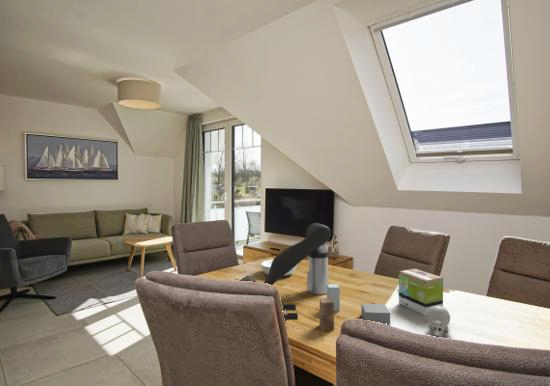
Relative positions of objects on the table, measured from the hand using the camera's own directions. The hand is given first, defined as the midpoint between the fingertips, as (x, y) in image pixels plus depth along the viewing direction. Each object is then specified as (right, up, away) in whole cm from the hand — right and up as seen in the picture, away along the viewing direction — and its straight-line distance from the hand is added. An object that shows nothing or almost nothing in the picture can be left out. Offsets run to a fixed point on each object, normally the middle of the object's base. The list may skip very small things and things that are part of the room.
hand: (296, 311), depth 120 cm
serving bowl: (-5, -4, +71) cm, 71 cm away
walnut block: (+11, -6, 0) cm, 13 cm away
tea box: (+53, -5, +18) cm, 56 cm away
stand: (+54, -5, +39) cm, 67 cm away
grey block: (+31, -6, +6) cm, 32 cm away
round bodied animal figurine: (+50, -6, -4) cm, 50 cm away
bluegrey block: (+17, -5, +17) cm, 25 cm away
